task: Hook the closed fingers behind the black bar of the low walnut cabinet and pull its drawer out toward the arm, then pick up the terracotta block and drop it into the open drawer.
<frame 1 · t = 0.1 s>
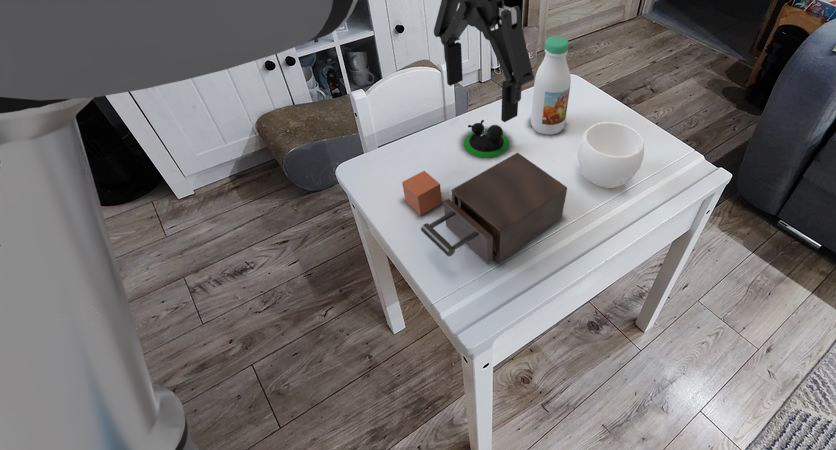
hand: (481, 99, 74), 21 cm above the table, tool pointing down, fingers open, 13 cm apart
drawer: (483, 220, 79), point 4 cm above the table, slide at 1.0 cm
cabinet: (508, 220, 84), on the table
block: (423, 202, 87), on the table
cup: (604, 178, 93), on the table
milk bottle: (547, 126, 105), on the table
toy figurine: (486, 144, 100), on the table
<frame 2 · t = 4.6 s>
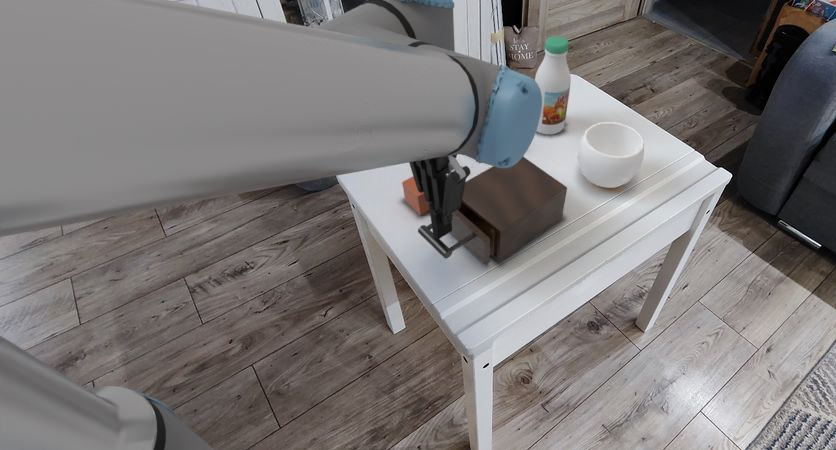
hand: (442, 232, 72), 8 cm above the table, tool pointing down, fingers closed
drawer: (481, 222, 78), point 4 cm above the table, slide at 1.6 cm, touching gripper
everything else where it was.
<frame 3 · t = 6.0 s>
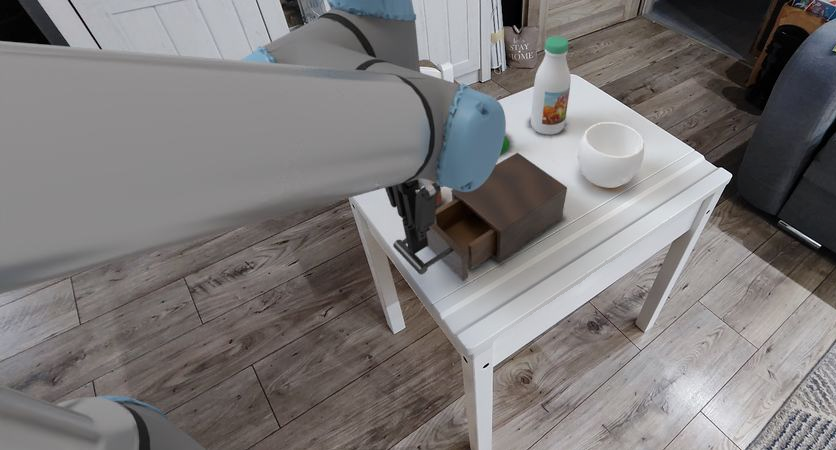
hand: (418, 246, 70), 8 cm above the table, tool pointing down, fingers closed
drawer: (459, 235, 76), point 4 cm above the table, slide at 6.2 cm, touching gripper
everything else where it was.
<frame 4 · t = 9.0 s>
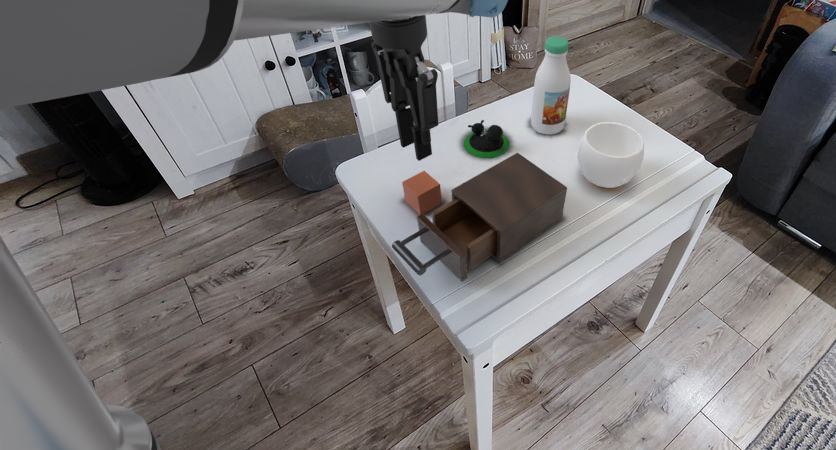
hand: (416, 149, 78), 13 cm above the table, tool pointing down, fingers open, 4 cm apart
drawer: (458, 236, 76), point 4 cm above the table, slide at 6.5 cm
everything else where it was.
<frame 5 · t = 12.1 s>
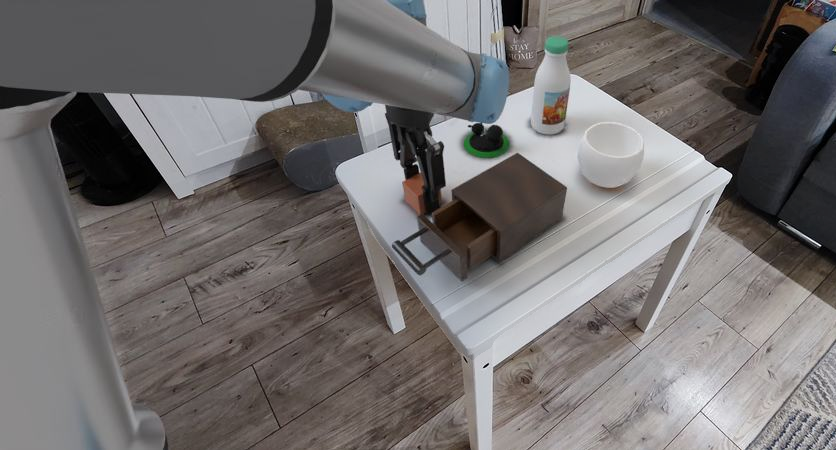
hand: (423, 201, 87), 0 cm above the table, tool pointing down, fingers closed on block, 5 cm apart
block: (423, 202, 87), on the table, touching gripper
everything else where it was.
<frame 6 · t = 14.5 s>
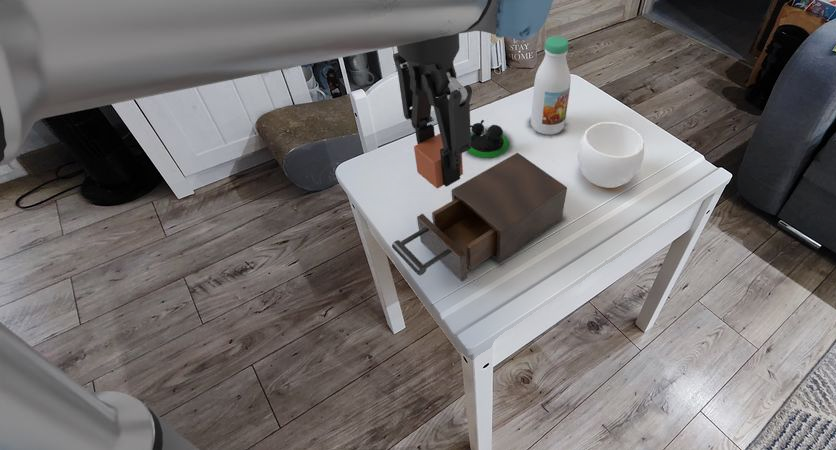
hand: (440, 172, 70), 15 cm above the table, tool pointing down, fingers closed on block, 5 cm apart
block: (440, 173, 70), point 15 cm above the table, touching gripper
everything else where it was.
when the fingers open (8 cm above the table, at t = 17.3 s): block drops 5 cm, resting on drawer.
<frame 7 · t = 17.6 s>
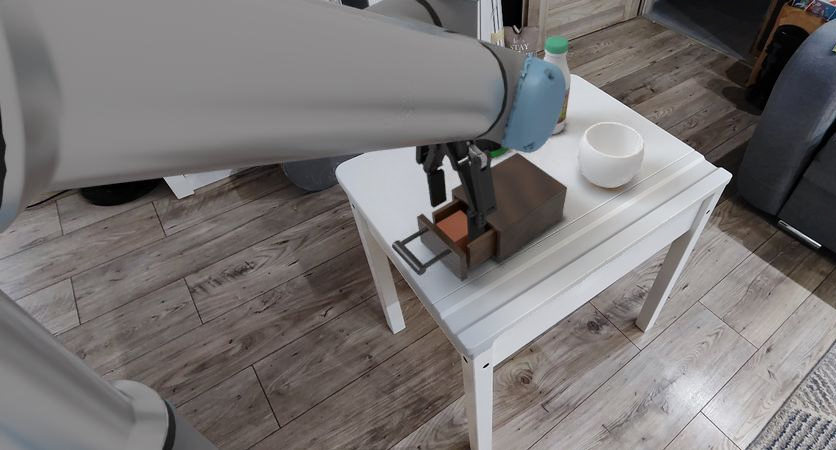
hand: (457, 219, 73), 8 cm above the table, tool pointing down, fingers open, 9 cm apart
drawer: (458, 236, 76), point 4 cm above the table, slide at 6.5 cm, touching block
block: (459, 245, 78), point 2 cm above the table, touching drawer
everything else where it was.
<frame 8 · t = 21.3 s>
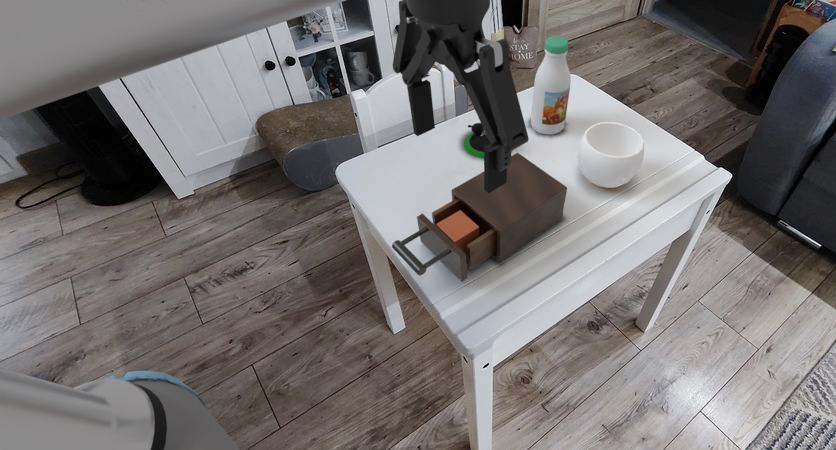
hand: (457, 157, 55), 27 cm above the table, tool pointing down, fingers open, 13 cm apart
nothing on the table moved.
at the end: drawer slide at 6.5 cm; block inside the target area in the drawer (0.5 cm from its centre), point 2.0 cm above the cabinet's base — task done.
